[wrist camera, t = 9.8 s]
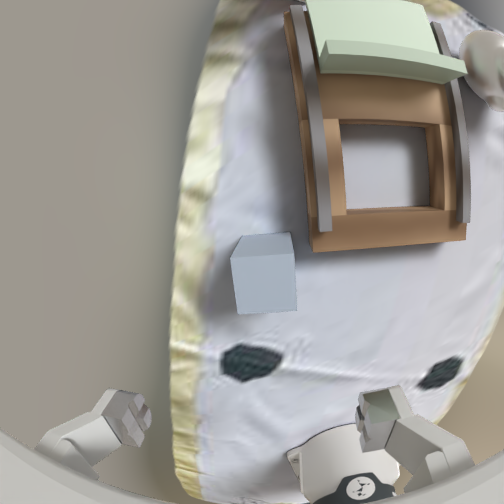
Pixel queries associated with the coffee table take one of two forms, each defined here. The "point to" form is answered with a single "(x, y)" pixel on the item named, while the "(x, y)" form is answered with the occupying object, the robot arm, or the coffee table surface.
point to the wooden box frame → (376, 113)
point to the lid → (379, 40)
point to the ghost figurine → (485, 66)
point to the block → (264, 274)
